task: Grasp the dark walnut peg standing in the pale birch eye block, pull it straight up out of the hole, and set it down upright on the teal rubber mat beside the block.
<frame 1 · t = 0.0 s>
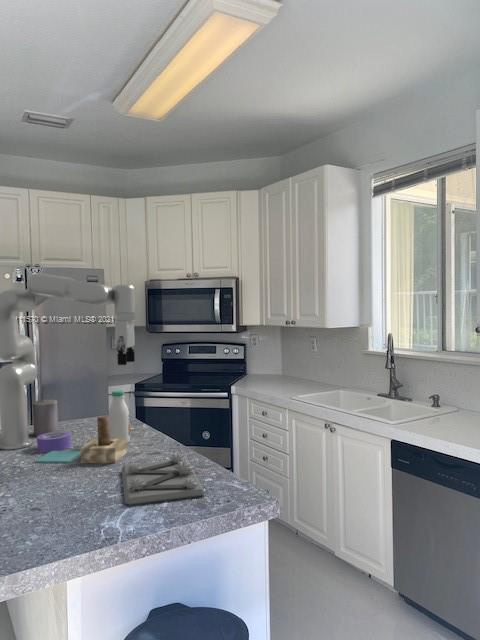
hand: (126, 363, 188), 31 cm above the counter, tool pointing down, fingers open, 9 cm apart
walnut peg: (103, 437, 174), in the eye block
milk bottle: (119, 443, 193), on the counter
eye block: (104, 457, 174), on the counter
decorative plate: (160, 485, 148), on the counter
tape roll: (54, 448, 188), on the counter
pillar candle: (46, 434, 209), on the counter
teal mat: (60, 457, 175), on the counter
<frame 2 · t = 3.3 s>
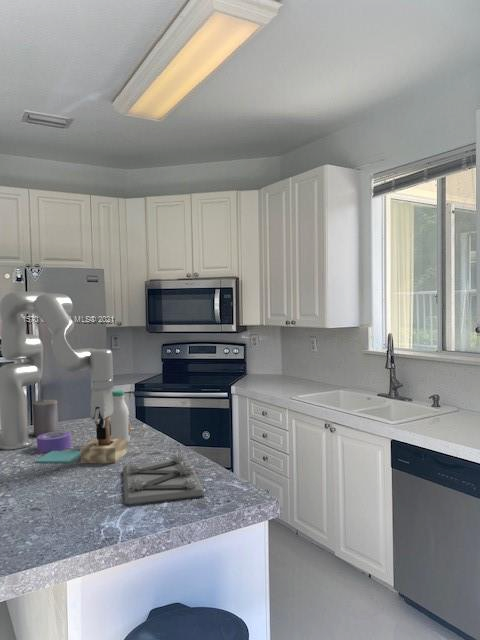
hand: (103, 436, 174), 7 cm above the counter, tool pointing down, fingers closed on walnut peg, 4 cm apart
walnut peg: (103, 437, 174), in the eye block, touching gripper
everything else where it was.
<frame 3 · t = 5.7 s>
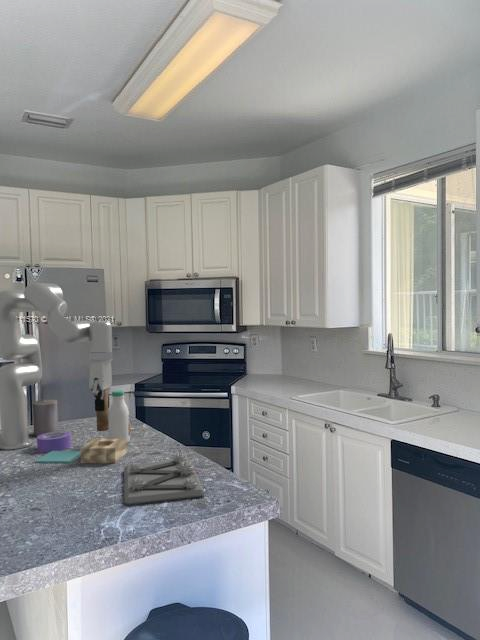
hand: (102, 408, 174), 17 cm above the counter, tool pointing down, fingers closed on walnut peg, 4 cm apart
walnut peg: (102, 409, 174), point 17 cm above the counter, touching gripper
everything else where it was.
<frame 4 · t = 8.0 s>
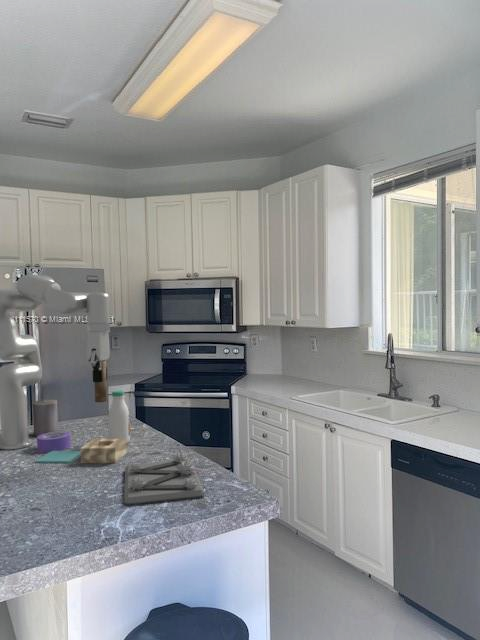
hand: (100, 380, 173), 27 cm above the counter, tool pointing down, fingers closed on walnut peg, 4 cm apart
walnut peg: (100, 381, 173), point 27 cm above the counter, touching gripper
everything else where it was.
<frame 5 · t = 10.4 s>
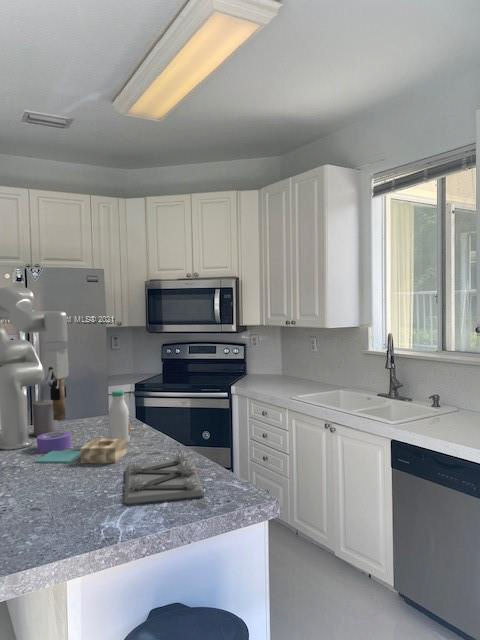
hand: (58, 398, 175), 21 cm above the counter, tool pointing down, fingers closed on walnut peg, 4 cm apart
walnut peg: (58, 399, 175), point 21 cm above the counter, touching gripper
everything else where it was.
when the fingers open (9 cm above the counter, at t = 12.7 s): walnut peg drops 1 cm, resting on teal mat.
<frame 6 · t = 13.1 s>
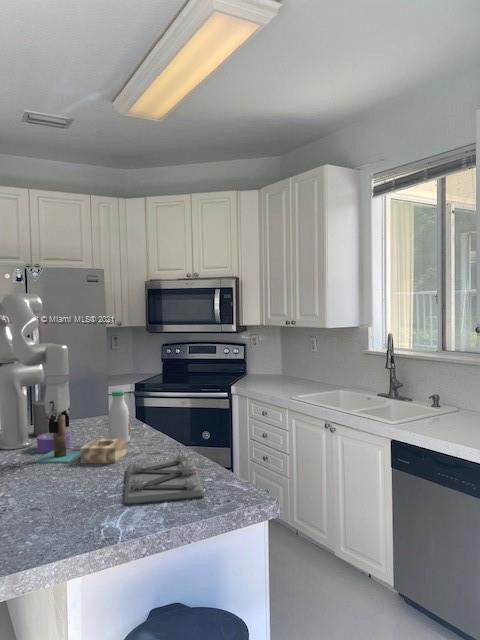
hand: (59, 429, 175), 10 cm above the counter, tool pointing down, fingers open, 7 cm apart
walnut peg: (59, 435, 175), on the teal mat, point 8 cm above the counter
everything else where it was.
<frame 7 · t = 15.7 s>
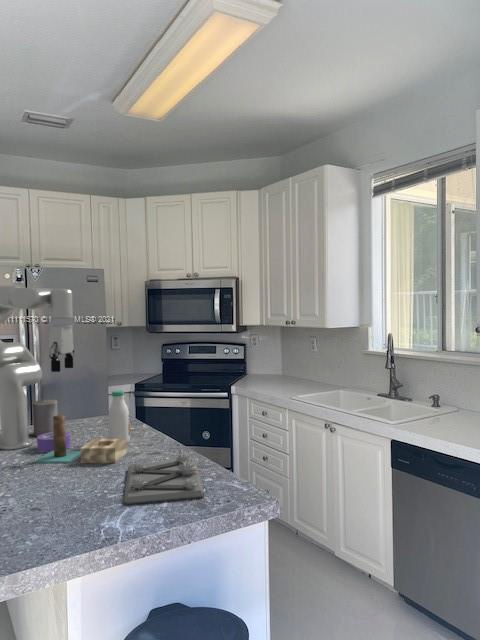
hand: (62, 369, 181), 30 cm above the counter, tool pointing down, fingers open, 9 cm apart
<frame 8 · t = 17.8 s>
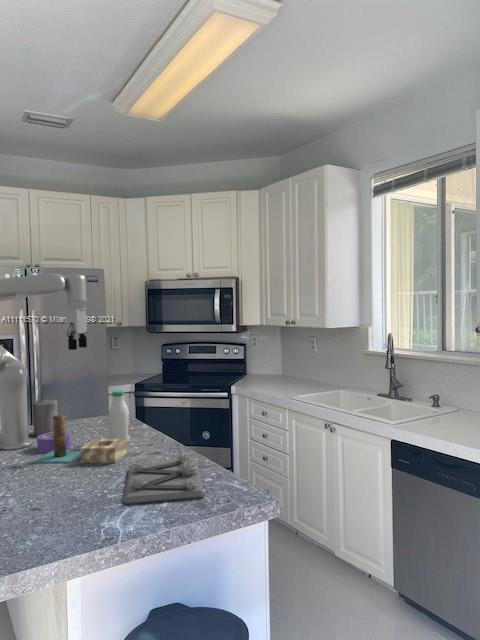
hand: (77, 348, 200), 36 cm above the counter, tool pointing down, fingers open, 9 cm apart
at the end: walnut peg inside the target area on the teal mat (0.0 cm from its centre), point 7.6 cm above the teal mat's base; walnut peg tilted 0°; the gripper is holding nothing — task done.
